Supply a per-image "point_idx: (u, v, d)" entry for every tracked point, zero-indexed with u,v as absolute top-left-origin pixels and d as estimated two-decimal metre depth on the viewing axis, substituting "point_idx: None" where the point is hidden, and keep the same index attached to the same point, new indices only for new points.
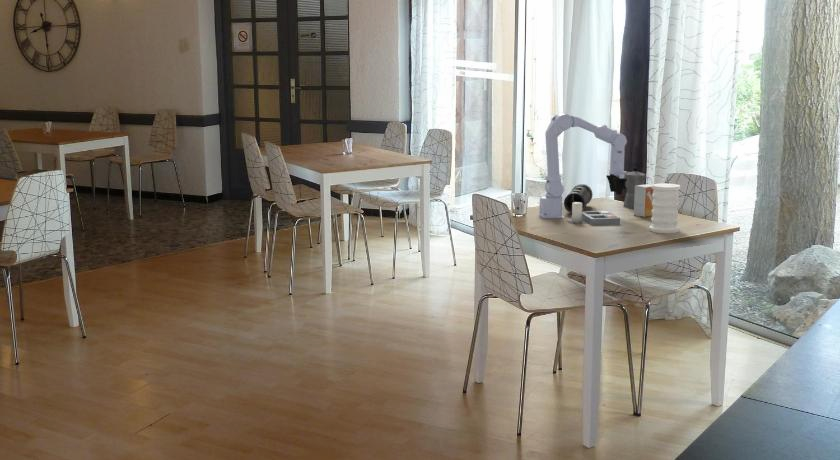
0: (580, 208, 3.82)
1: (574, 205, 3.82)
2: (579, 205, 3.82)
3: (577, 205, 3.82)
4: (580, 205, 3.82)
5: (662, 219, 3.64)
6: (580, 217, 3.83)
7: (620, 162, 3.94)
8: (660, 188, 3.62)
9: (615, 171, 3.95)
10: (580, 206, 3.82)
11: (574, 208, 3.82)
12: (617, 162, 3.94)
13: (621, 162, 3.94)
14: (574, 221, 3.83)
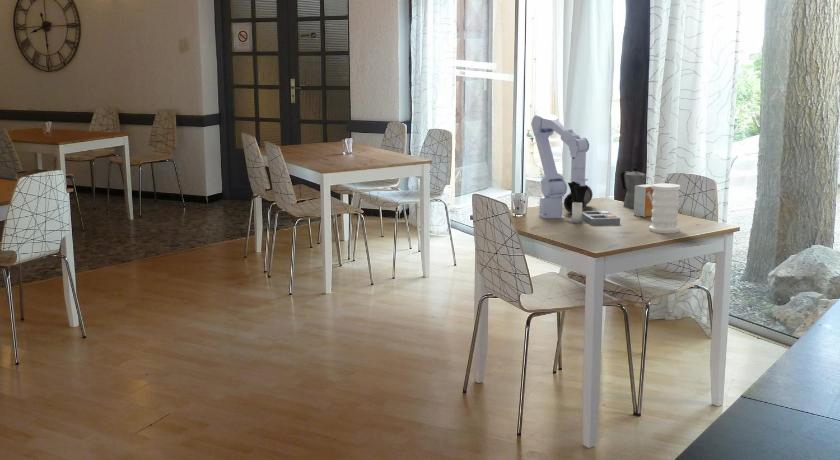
0: (580, 208, 3.82)
1: (574, 205, 3.82)
2: (579, 205, 3.82)
3: (577, 205, 3.82)
4: (580, 205, 3.82)
5: (662, 219, 3.64)
6: (580, 217, 3.83)
7: (581, 169, 3.78)
8: (660, 188, 3.62)
9: (576, 178, 3.79)
10: (580, 206, 3.82)
11: (574, 208, 3.82)
12: (578, 169, 3.78)
13: (582, 169, 3.78)
14: (574, 221, 3.83)
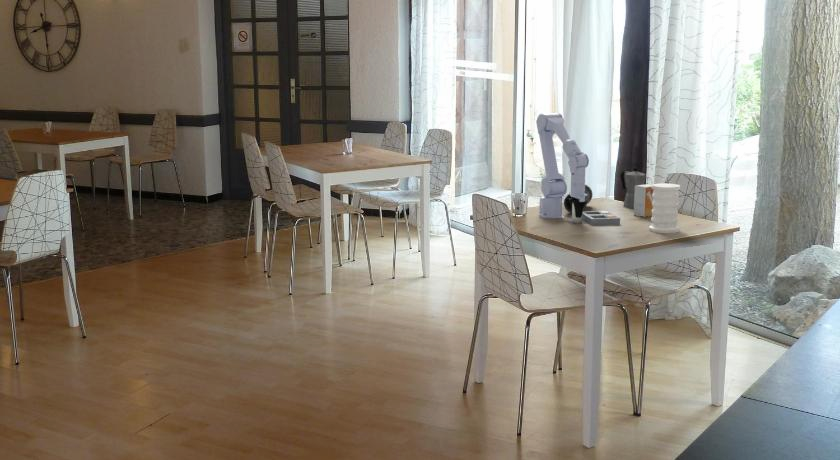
0: None
1: None
2: None
3: None
4: None
5: (662, 219, 3.64)
6: None
7: (581, 184, 3.79)
8: (660, 188, 3.62)
9: (575, 194, 3.80)
10: None
11: (574, 208, 3.82)
12: (577, 185, 3.79)
13: (582, 184, 3.79)
14: (574, 221, 3.83)
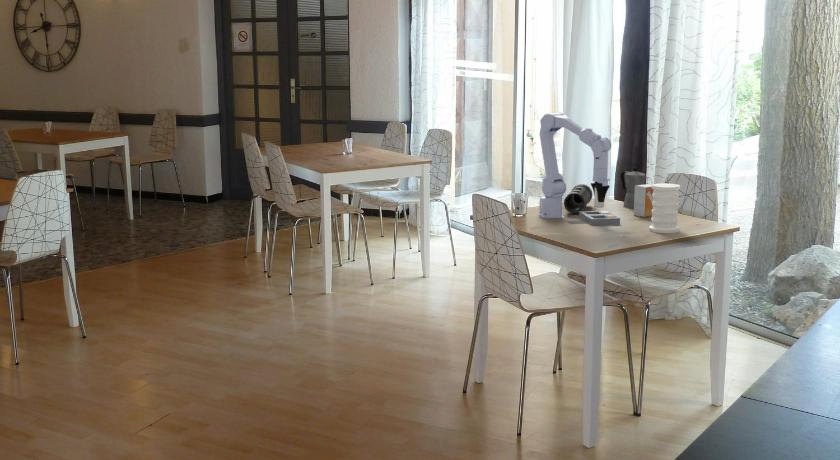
0: None
1: None
2: None
3: None
4: None
5: (662, 219, 3.64)
6: (603, 202, 3.80)
7: (603, 169, 3.76)
8: (660, 188, 3.62)
9: (598, 178, 3.77)
10: None
11: None
12: (600, 169, 3.76)
13: (604, 169, 3.77)
14: (597, 206, 3.80)
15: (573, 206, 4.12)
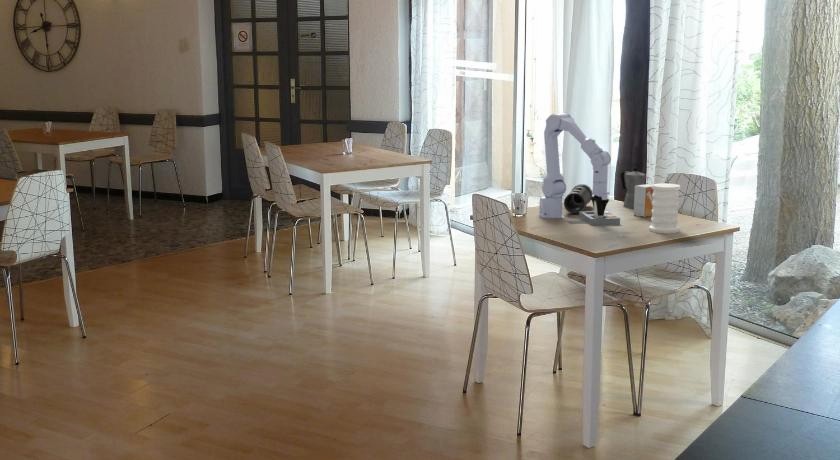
0: None
1: None
2: None
3: None
4: None
5: (662, 219, 3.64)
6: None
7: (603, 183, 3.77)
8: (660, 188, 3.62)
9: (598, 192, 3.78)
10: None
11: (596, 206, 3.81)
12: (600, 183, 3.77)
13: (604, 182, 3.78)
14: None
15: (573, 206, 4.12)
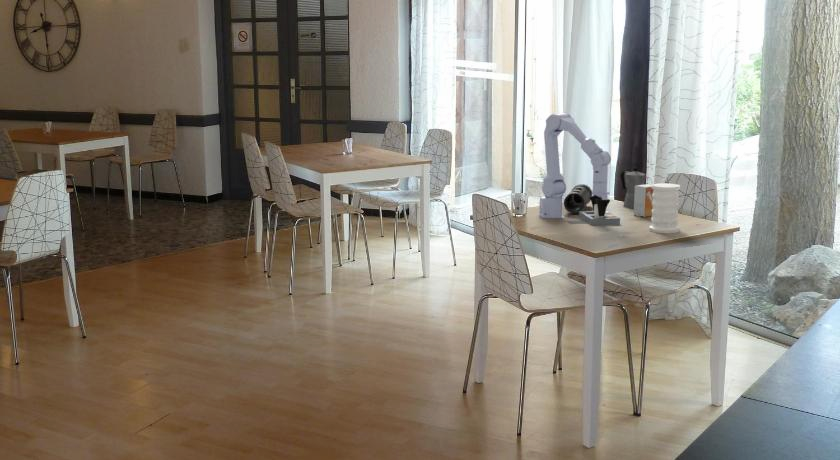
0: None
1: (596, 207, 3.81)
2: None
3: None
4: None
5: (662, 219, 3.64)
6: None
7: (603, 182, 3.77)
8: (660, 188, 3.62)
9: (598, 192, 3.78)
10: None
11: (596, 210, 3.81)
12: (600, 183, 3.77)
13: (604, 182, 3.78)
14: None
15: (573, 206, 4.12)
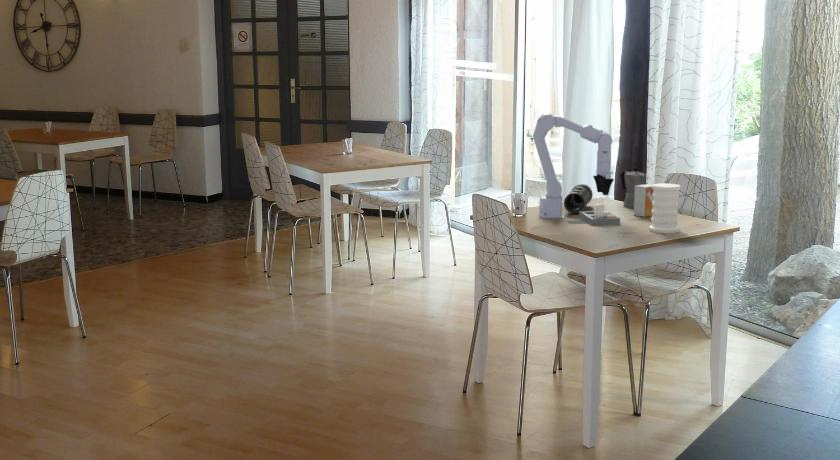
0: (602, 210, 3.81)
1: (596, 207, 3.81)
2: (601, 207, 3.80)
3: (600, 207, 3.80)
4: (602, 207, 3.80)
5: (662, 219, 3.64)
6: None
7: (607, 162, 3.90)
8: (660, 188, 3.62)
9: (602, 171, 3.91)
10: (602, 208, 3.81)
11: (596, 210, 3.81)
12: (603, 162, 3.90)
13: (608, 162, 3.90)
14: None
15: (573, 206, 4.12)
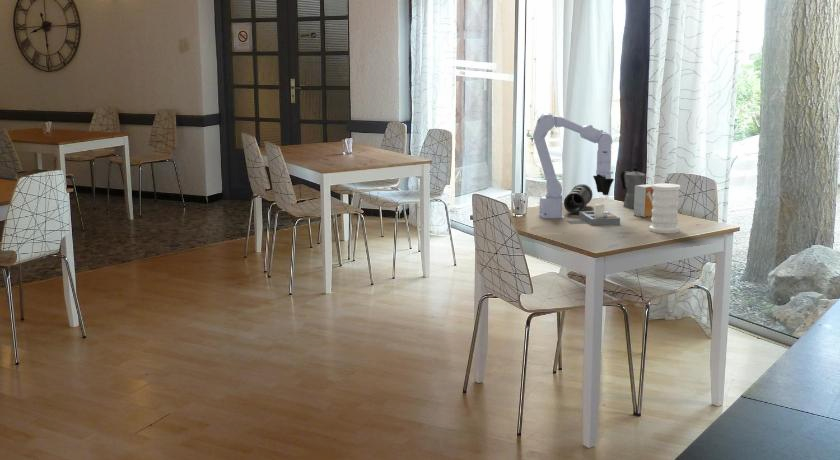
0: (602, 210, 3.81)
1: (596, 207, 3.81)
2: (601, 207, 3.80)
3: (599, 207, 3.80)
4: (602, 207, 3.80)
5: (662, 219, 3.64)
6: None
7: (607, 162, 3.90)
8: (660, 188, 3.62)
9: (602, 171, 3.91)
10: (602, 208, 3.81)
11: (596, 210, 3.81)
12: (603, 162, 3.90)
13: (608, 162, 3.90)
14: None
15: (573, 206, 4.12)
